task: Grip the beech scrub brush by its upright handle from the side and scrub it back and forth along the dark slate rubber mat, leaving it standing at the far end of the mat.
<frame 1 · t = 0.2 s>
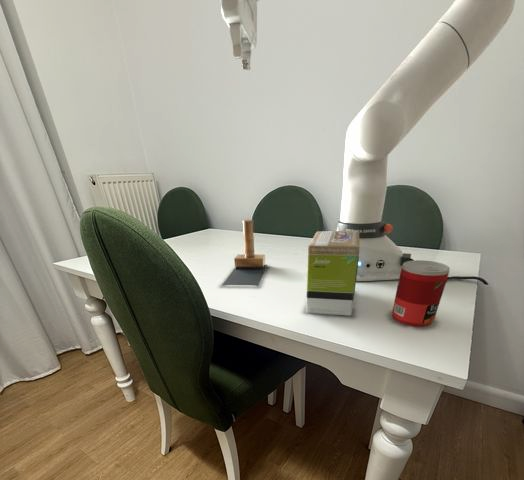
hand: (242, 64, 67), 48 cm above the table, tool pointing down, fingers open, 8 cm apart
brush: (250, 267, 93), point 1 cm above the table, touching mat
tea box: (330, 302, 69), on the table
canned food: (411, 319, 60), on the table
mat: (246, 275, 88), on the table
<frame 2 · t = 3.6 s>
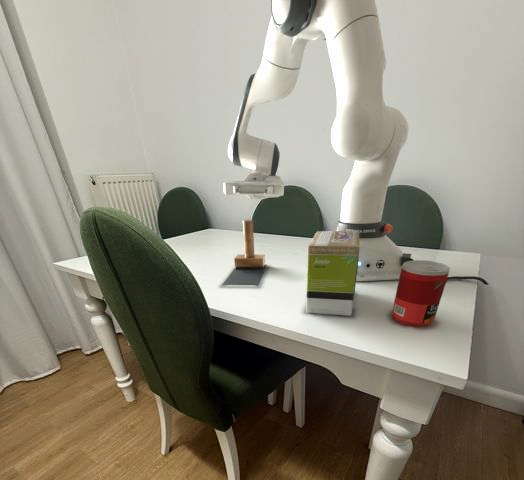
hand: (251, 191, 91), 21 cm above the table, tool horizontal, fingers open, 8 cm apart
nothing on the table moved.
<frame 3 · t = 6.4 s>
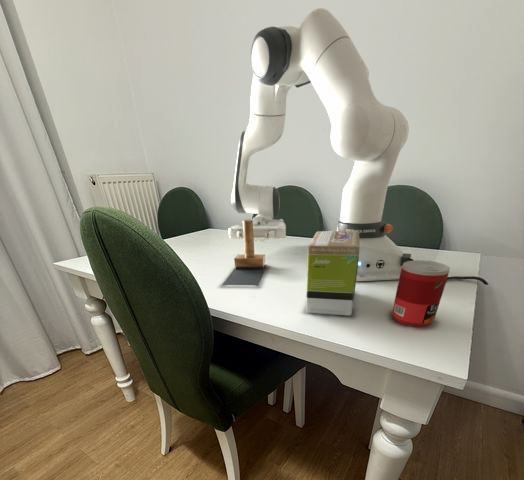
hand: (254, 236, 96), 9 cm above the table, tool horizontal, fingers open, 8 cm apart
nothing on the table moved.
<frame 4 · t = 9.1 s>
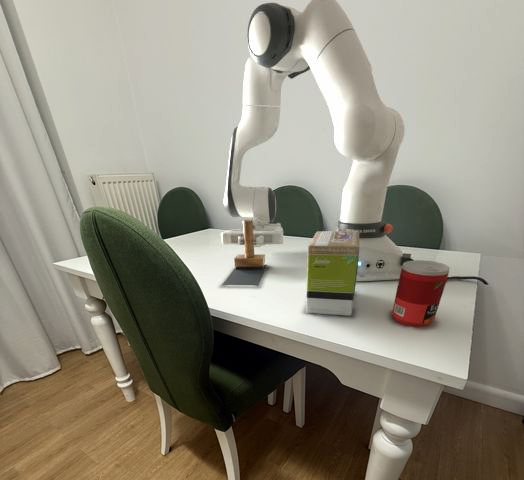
hand: (248, 242, 88), 9 cm above the table, tool horizontal, fingers closed on brush, 3 cm apart
brush: (250, 267, 93), point 1 cm above the table, touching gripper, mat
everything else where it was.
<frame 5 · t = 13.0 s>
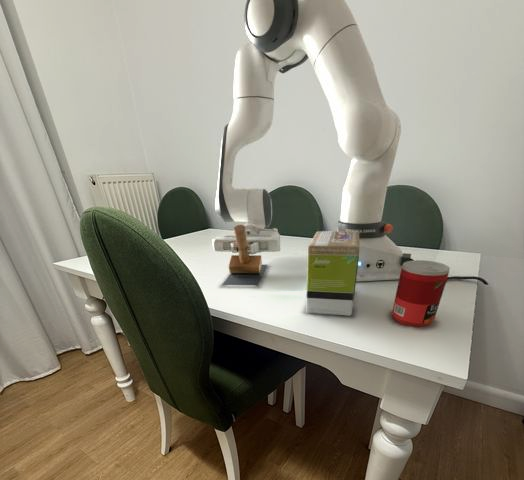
hand: (242, 249, 80), 9 cm above the table, tool horizontal, fingers closed on brush, 3 cm apart
brush: (246, 270, 88), point 2 cm above the table, tilted 23°, touching gripper
everything else where it was.
when the fingers open (9 cm above the table, at t = 16.9 s): brush stays where it is, resting on mat.
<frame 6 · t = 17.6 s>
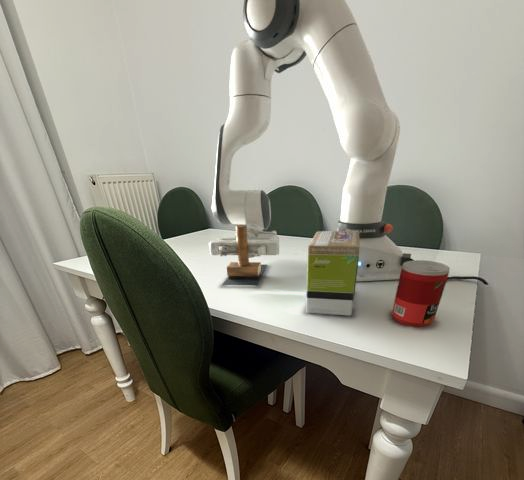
hand: (239, 253, 77), 8 cm above the table, tool horizontal, fingers open, 8 cm apart
brush: (244, 276, 85), point 1 cm above the table, touching mat
everything else where it was.
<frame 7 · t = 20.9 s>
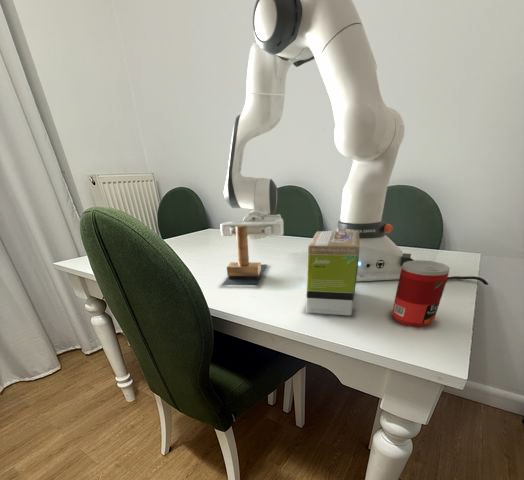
hand: (248, 232, 86), 11 cm above the table, tool horizontal, fingers open, 8 cm apart
nothing on the table moved.
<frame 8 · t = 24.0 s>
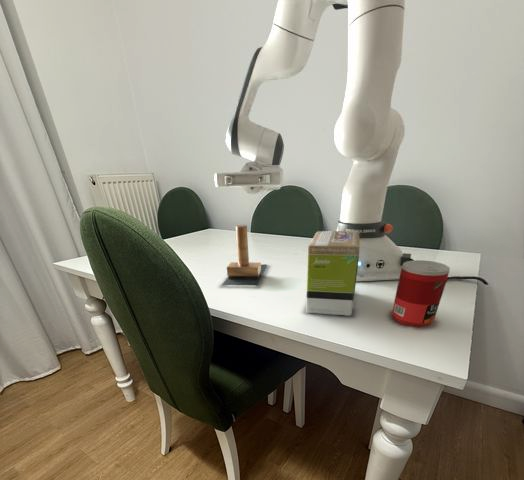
hand: (244, 179, 79), 25 cm above the table, tool horizontal, fingers open, 8 cm apart
nothing on the table moved.
at the end: brush inside the target area (3.7 cm from its centre), point 0.6 cm above the table; brush moved 9.3 cm from its start; brush tilted 0° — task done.
